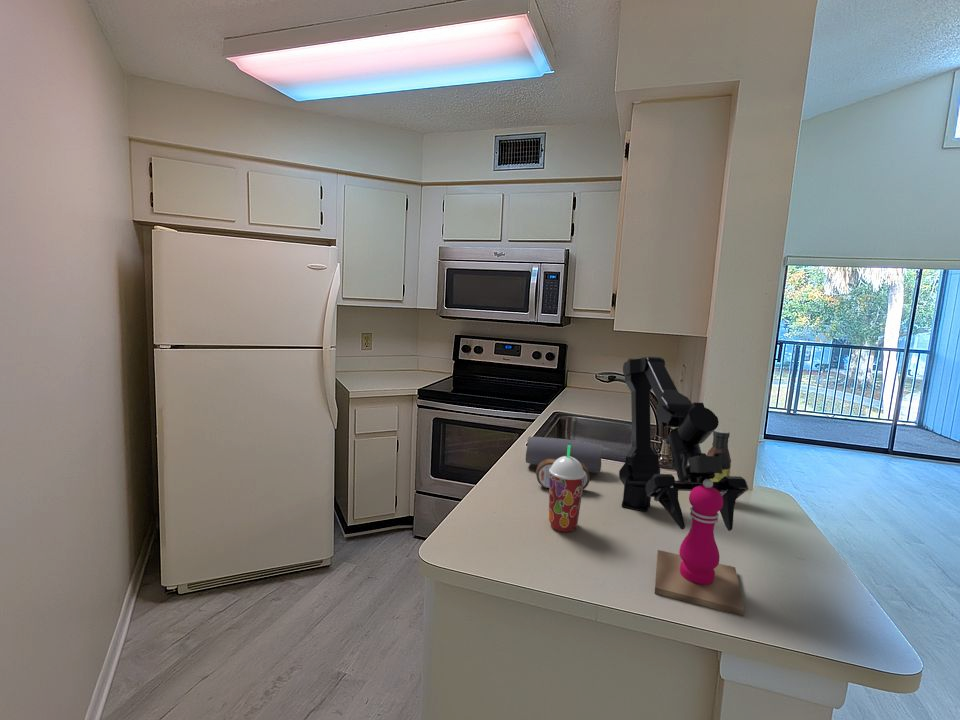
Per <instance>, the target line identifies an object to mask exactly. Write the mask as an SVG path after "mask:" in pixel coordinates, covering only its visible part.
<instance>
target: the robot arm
mask: <svg viewBox="0 0 960 720" xmlns="http://www.w3.org/2000/svg"><path fill="white" fill-rule="evenodd" d="M622 373H623V375H624V382H625V384H626V386H627V387H628V389H629V391H630V393H631V394H630V395H631V405H630V406H631V447H630V448H629V450H628V452H627V453H626V455H625V462H624V464H623V465H622V466H621V468H620V469H619V471H618V478H619V480H620V482H621V483H622V484H623V494H622V502H621V507H622V508H627V509H632V510H635V511H641V512H648V508H650V507H651V500H652V498H653V500H654V501H655V502H659V503H660V505H661V506H662V507H663V508H664V510H666V511H667V513H668V514H669V515H670V516H671V518H672V519H673V521H674V522H675V523H676V525H677V526H678V527H679V528H680V529H681V530H685V529H686V525H685V519H684V516H683V512H682V508H681V504H680V501H679V492H680V491H681V492H691V490H692V489H693V488H695V487H696V486H700V485H703V481H704V480H705V479H713V478H714V477H715V474H714V473H720V474H722V473H723V472H722V470H726V469H730V470H731V467H730V460H729V457H728V455H727V453H715V454H714V456H707V454H706V453H705V452H704V453H703V452H702V449H701V446H700V444H703V443H704V442H705V441H706V440H707V439H708V438H709V437H710V436H711V434H713V431H714V430H716V429H718V426H719V423H720V421H719V418H718V416H717V415H716V414H715V413H714V411H712V410H711V409H709V408H707V407H705V405H704V402H696V401H695V402H692V401H691V400H690V399H689V398H688V396H687V395H684V394H682V393H680V392H679V390H678V388H677V386H676V385H675V383H674V381H673V379H672V377H671V375H670V373H669V372H668V368H666V362H665V359H664V357H663V358H662V357H660V356H643V357H641V358H629V357H628V359H627V361H625V362H624V363H623V366H622ZM651 391H653V393H654V396H655V398H656V400H657V403H658V404H657V407H656V419H657V421H658V422H659V424H660V426H661V427H664V428H673V429H672V430H671V431H670V432H669V433H668V434H667V437H666V439H665V444H666V445H669V447H670V451H671V455H672V459H673V463H671V466H672V470H675V471H676V475H677V479H678V480H676V479H675V476H674V475H673V474H671V473H670V474H668V473H661V469H660V465H659V460H660V459H659V455H658V454H657V453H655V451H654V449H653V448H652V439H651V437H652V436H651V430H652V428H651V427H652V426H651ZM712 487H713V488H715V489H717V490H718V491H719V492H720V493H721V495H722V497H723V506H722V508H721V510H720V511H719V512H720V513H719V514H720V515H721V518H722V521H723V522H724V526H725V528H726V529H727V531H728V532H731V531H732V530H733V525H734V514H735V513H734V512H735V507H736V506H735V505H736V501H737V499H738V498H739V497H741V496H742V495H744V493H746V492H747V491H748V490H749V485H748V482H747V480H746V478H744V477H742V476H736V475H735V476H734V475H733V476H731V475H730V476H724V477H723V478H722V479H721V480H720V481H719V482H713V486H712Z"/></svg>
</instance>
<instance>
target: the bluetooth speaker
mask: <svg viewBox="0 0 960 720" xmlns="http://www.w3.org/2000/svg"><path fill="white" fill-rule="evenodd" d="M526 444H527V445H526V451H525V463H526V464H529V465H535V466H538V465H539V464H540V463H541V462H542V461H544V460H546V459H558V458H560V457H563V456H567V449H568V445H570V446H571V447H570V456H571V457H573V458H575V459H577V460H578V461H579V462H581V463H583V464H584V465H585V466H586V467H587V468H588V470H589V473H601V470H602V453H603V445H602V444H598V443H594V442H587V441H580V440H574V439H567V438H565V439H564V438H556V437H547V436H546V437H544V436H528V437H527V443H526Z"/></svg>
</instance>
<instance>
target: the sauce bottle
mask: <svg viewBox="0 0 960 720" xmlns="http://www.w3.org/2000/svg"><path fill="white" fill-rule="evenodd" d="M712 436H713V438H712V444H711V445H712V446H711V448H709V450H708V451H707V454H706V455H707V456H714V454H715V453H727V455H728V457H729V460H730V469H726V470H722V472H723V473H722V474H720V473H714V474H715V477H714V478H713V479H710V480H711V481H712V482H719V481H720V480H721V479H722V478H723V477H724V476H731V466H732V458H731V454H730V450H729V448H728V447H729V438H730V436H731V435H730V431H728V430H724V429H718V428H716V429H715V430H714V431H713V432H712Z"/></svg>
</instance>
